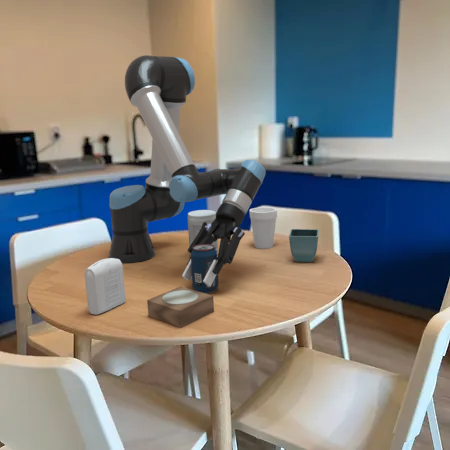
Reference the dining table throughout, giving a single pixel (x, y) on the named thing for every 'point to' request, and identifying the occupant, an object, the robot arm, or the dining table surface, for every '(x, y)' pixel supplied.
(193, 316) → the plinth
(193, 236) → the supplement tub
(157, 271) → the dining table surface
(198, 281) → the soda can
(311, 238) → the flower pot
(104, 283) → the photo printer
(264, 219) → the foam cup
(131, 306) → the dining table surface
